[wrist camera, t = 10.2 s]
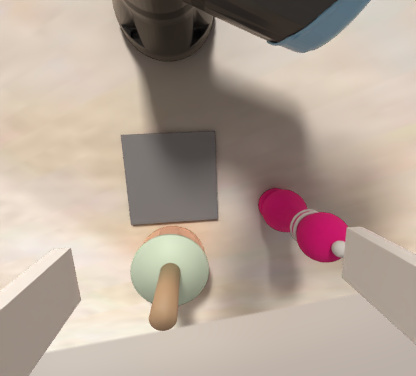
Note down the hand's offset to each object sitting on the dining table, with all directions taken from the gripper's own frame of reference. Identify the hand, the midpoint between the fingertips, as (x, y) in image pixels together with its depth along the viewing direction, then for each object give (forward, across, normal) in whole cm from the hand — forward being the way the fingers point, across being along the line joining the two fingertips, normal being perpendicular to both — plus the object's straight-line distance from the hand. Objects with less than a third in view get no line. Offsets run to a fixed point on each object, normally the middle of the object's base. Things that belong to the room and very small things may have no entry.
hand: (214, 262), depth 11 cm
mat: (+30, -5, -1) cm, 31 cm away
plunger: (+25, -6, -16) cm, 30 cm away
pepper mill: (+30, +14, -7) cm, 34 cm away
